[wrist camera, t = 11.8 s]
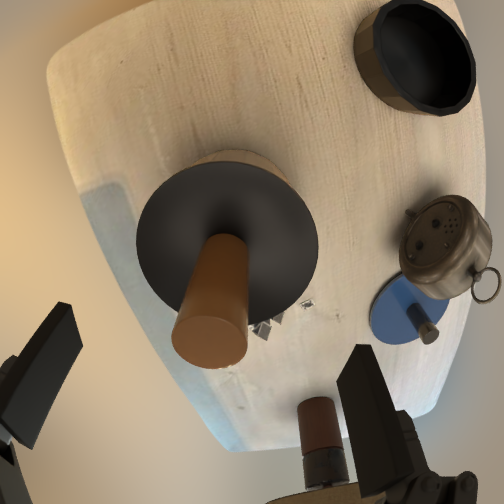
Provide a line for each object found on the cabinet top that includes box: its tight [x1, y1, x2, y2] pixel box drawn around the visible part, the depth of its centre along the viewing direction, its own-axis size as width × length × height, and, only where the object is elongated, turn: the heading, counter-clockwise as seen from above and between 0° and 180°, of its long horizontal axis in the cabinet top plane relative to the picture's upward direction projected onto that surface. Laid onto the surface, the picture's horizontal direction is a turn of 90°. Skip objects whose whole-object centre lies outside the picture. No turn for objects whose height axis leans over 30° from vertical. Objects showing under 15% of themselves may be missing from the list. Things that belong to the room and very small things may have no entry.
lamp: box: [266, 397, 386, 504], centre depth 32 cm, size 20×20×35 cm
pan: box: [354, 0, 476, 117], centre depth 20 cm, size 13×13×6 cm
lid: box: [136, 160, 319, 369], centre depth 17 cm, size 14×14×10 cm
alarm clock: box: [399, 195, 501, 304], centre depth 24 cm, size 11×5×16 cm, turn 147°
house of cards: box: [248, 299, 315, 341], centre depth 33 cm, size 9×9×8 cm
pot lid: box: [370, 273, 450, 345], centre depth 34 cm, size 14×14×7 cm
